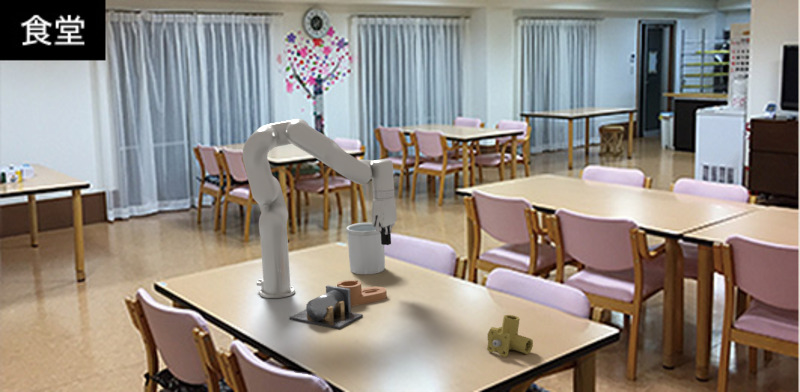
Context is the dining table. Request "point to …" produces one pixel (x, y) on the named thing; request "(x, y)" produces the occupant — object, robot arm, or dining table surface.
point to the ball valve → (508, 338)
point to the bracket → (362, 292)
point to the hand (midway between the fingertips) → (386, 244)
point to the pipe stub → (329, 309)
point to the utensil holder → (365, 249)
